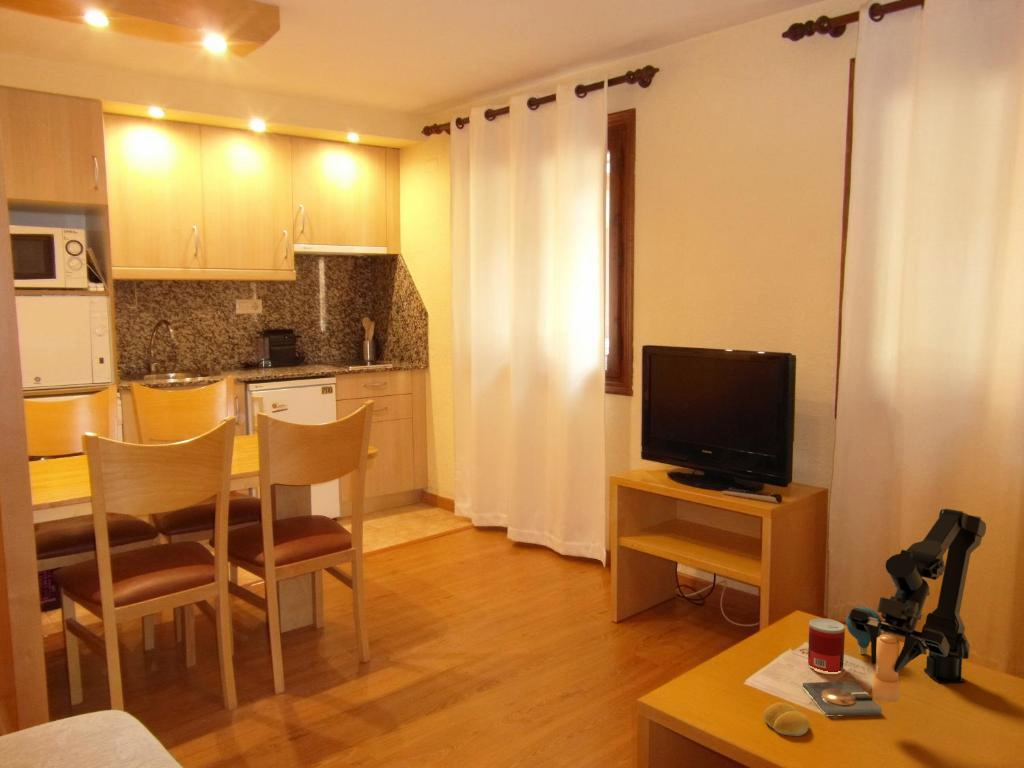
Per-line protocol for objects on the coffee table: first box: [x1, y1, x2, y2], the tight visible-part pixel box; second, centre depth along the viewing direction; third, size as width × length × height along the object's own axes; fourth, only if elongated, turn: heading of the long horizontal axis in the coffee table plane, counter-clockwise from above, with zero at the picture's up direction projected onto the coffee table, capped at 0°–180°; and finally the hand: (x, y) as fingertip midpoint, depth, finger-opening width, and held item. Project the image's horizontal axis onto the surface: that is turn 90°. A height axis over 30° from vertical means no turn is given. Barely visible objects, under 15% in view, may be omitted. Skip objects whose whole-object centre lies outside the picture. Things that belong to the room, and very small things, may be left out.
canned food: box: [807, 617, 846, 672], centre depth 186 cm, size 8×8×11 cm
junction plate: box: [802, 680, 882, 717], centre depth 170 cm, size 12×12×2 cm
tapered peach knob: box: [871, 633, 901, 703], centre depth 159 cm, size 5×5×13 cm
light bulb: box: [845, 606, 883, 655], centre depth 194 cm, size 8×8×12 cm
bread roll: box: [763, 702, 810, 737], centre depth 161 cm, size 8×9×4 cm
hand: (884, 667), depth 158 cm, fingers closed on tapered peach knob, 4 cm apart
